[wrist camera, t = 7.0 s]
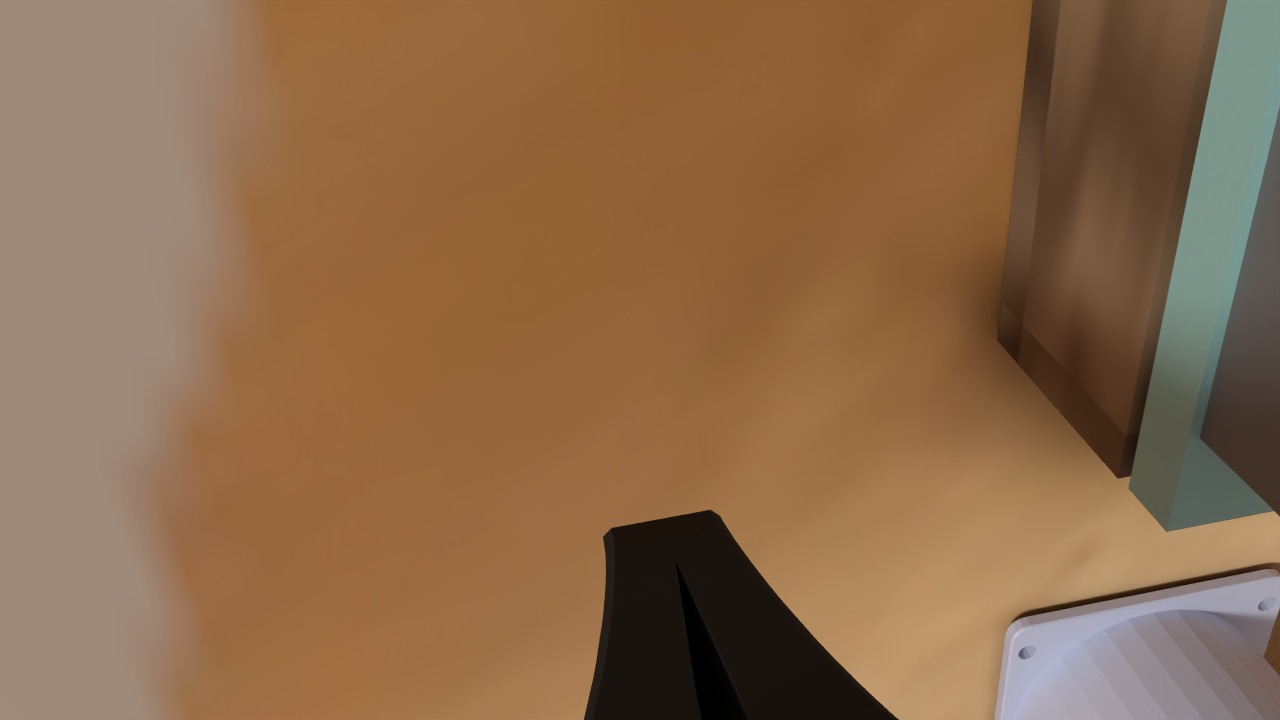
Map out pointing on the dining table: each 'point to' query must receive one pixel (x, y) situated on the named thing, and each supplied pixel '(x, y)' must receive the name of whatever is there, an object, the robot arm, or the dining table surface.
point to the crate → (1103, 202)
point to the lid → (1223, 301)
